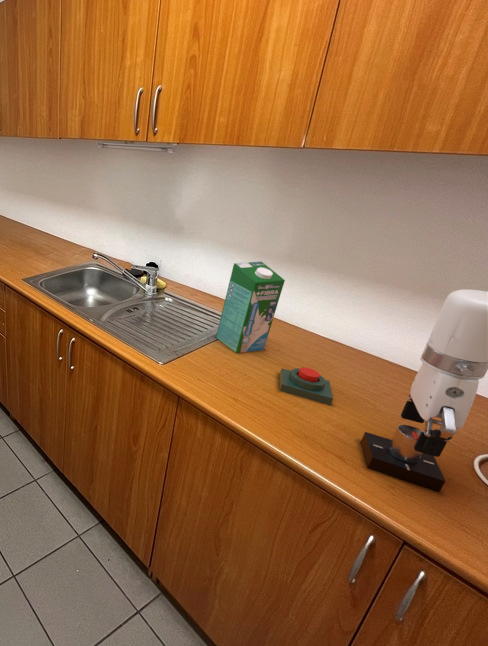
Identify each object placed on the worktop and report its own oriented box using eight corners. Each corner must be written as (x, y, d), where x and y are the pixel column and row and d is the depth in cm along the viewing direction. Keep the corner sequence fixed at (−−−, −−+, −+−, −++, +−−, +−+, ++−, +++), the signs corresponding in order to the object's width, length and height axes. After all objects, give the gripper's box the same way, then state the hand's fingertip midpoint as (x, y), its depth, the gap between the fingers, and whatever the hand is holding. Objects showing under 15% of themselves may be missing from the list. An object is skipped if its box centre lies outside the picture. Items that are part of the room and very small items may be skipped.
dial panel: (425, 462, 79) (432, 450, 78) (439, 494, 72) (446, 482, 71) (359, 441, 84) (365, 430, 83) (367, 469, 78) (373, 457, 76)
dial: (384, 442, 80) (395, 420, 78) (414, 451, 78) (427, 429, 75) (390, 457, 77) (401, 434, 74) (421, 467, 74) (434, 444, 72)
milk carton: (236, 353, 115) (258, 274, 106) (215, 337, 123) (233, 262, 114) (264, 350, 116) (287, 272, 107) (241, 334, 125) (261, 260, 115)
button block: (326, 387, 101) (331, 374, 99) (330, 405, 94) (335, 392, 93) (279, 374, 106) (283, 362, 104) (279, 391, 100) (284, 378, 98)
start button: (317, 376, 99) (319, 370, 98) (318, 384, 96) (320, 378, 95) (297, 371, 101) (299, 365, 101) (298, 379, 98) (300, 373, 97)
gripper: (510, 394, 60) (464, 477, 66) (467, 342, 73) (432, 415, 79) (439, 379, 64) (402, 458, 70) (410, 332, 77) (382, 402, 83)
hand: (418, 435), depth 75 cm, fingers open, 9 cm apart
